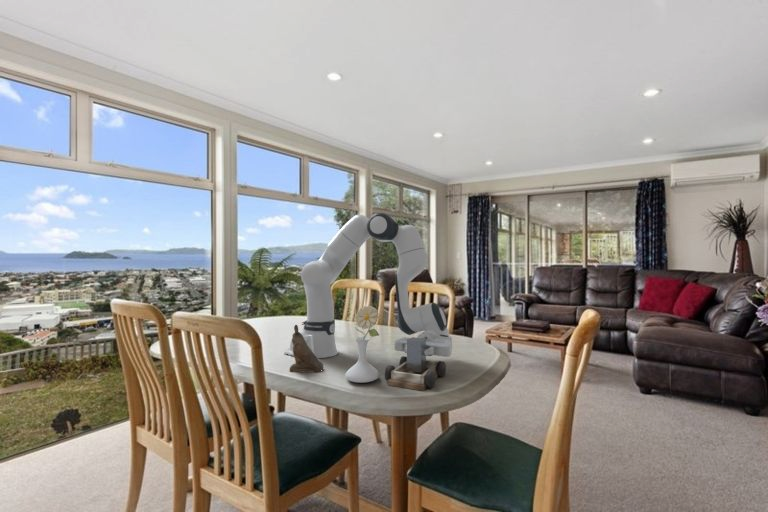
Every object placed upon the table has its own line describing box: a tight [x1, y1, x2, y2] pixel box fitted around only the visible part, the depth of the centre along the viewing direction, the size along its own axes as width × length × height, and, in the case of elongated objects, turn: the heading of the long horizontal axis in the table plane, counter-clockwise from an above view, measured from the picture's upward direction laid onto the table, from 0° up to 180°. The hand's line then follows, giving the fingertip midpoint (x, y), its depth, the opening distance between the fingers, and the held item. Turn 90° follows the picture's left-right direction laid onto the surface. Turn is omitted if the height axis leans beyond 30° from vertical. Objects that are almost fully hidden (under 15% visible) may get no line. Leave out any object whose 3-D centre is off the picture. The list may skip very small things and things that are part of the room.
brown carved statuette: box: [289, 324, 324, 372], centre depth 135 cm, size 12×6×18 cm, turn 85°
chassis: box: [384, 355, 447, 392], centre depth 126 cm, size 15×20×5 cm
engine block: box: [406, 336, 427, 372], centre depth 126 cm, size 5×5×10 cm
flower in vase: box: [344, 305, 381, 384], centre depth 124 cm, size 13×11×25 cm
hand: (415, 351), depth 125 cm, fingers closed on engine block, 5 cm apart
